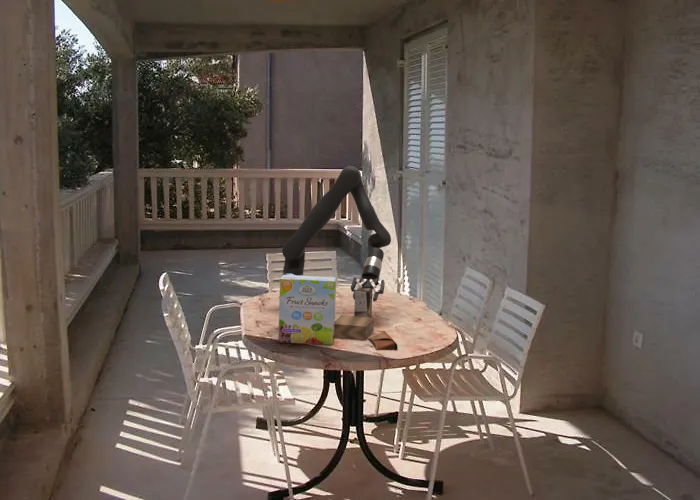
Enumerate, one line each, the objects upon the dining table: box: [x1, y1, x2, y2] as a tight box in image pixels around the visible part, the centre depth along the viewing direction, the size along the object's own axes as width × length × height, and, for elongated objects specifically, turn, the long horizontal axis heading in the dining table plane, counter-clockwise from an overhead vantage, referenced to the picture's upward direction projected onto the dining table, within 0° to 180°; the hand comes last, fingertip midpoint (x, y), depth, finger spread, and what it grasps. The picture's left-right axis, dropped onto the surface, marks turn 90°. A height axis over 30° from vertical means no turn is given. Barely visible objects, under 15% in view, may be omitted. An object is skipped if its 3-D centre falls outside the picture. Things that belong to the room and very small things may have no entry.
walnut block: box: [334, 315, 375, 341], centre depth 325 cm, size 14×16×6 cm
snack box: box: [277, 275, 337, 346], centre depth 309 cm, size 22×9×26 cm, turn 88°
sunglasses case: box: [367, 330, 398, 351], centre depth 310 cm, size 18×7×7 cm
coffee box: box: [353, 288, 374, 318], centre depth 338 cm, size 9×6×16 cm
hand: (364, 299), depth 339 cm, fingers open, 8 cm apart
